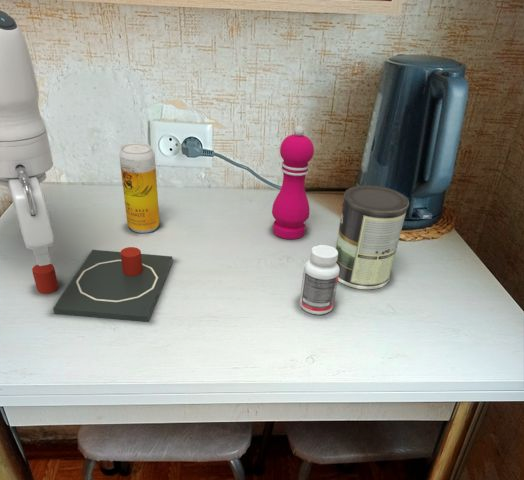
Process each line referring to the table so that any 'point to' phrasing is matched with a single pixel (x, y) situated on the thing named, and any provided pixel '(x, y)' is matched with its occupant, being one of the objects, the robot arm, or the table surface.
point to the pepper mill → (293, 186)
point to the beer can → (140, 187)
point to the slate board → (114, 288)
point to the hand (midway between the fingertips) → (38, 248)
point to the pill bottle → (320, 280)
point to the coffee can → (369, 235)
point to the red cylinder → (131, 261)
